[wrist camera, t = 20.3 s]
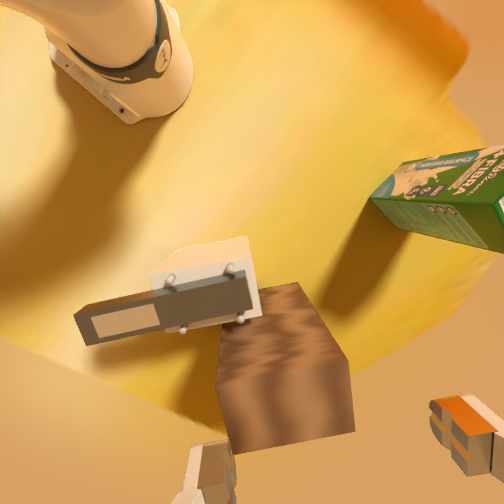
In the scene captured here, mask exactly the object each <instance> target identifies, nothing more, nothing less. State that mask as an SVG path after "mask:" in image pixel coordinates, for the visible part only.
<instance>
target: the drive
mask: <svg viewBox="0 0 504 504" xmlns="http://www.w3.org/2000/svg"><path fill="white" fill-rule="evenodd" d="M252 309H253V303H252V297H251V293H250V288H249V284H248V280H247V276H246V271H245V270H241V271H236V272H233V273H232V274H228V273H227V274H223V275H218V276H214V277H209V278H205V279H200V280H196V281H191V282H187V283H182V284H178V285H173V286H169V287H164V288H160V289H155V290H151V291H146V292H142V293H137V294H133V295H128V296H124V297H119V298H115V299H110V300H106V301H101V302H97V303H92V304H88V305H86V306H85V307H83V308H82V309H81V310H79V311H78V312H77V313H75V314H74V315H73V316H74V318H75V321H76V323H77V325H78V328H79V330H80V332H81V335H82V337H83V339H84V342H85V344H86V346H89V345H94V344H99V343H103V342H108V341H112V340H117V339H121V338H126V337H130V336H135V335H139V334H144V333H148V332H153V331H157V330H162V329H166V328H171V327H175V326H180V325H184V324H189V323H193V322H198V321H202V320H207V319H211V318H216V317H220V316H225V315H229V314H234V313H238V312H243V311H247V310H252Z"/></svg>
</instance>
